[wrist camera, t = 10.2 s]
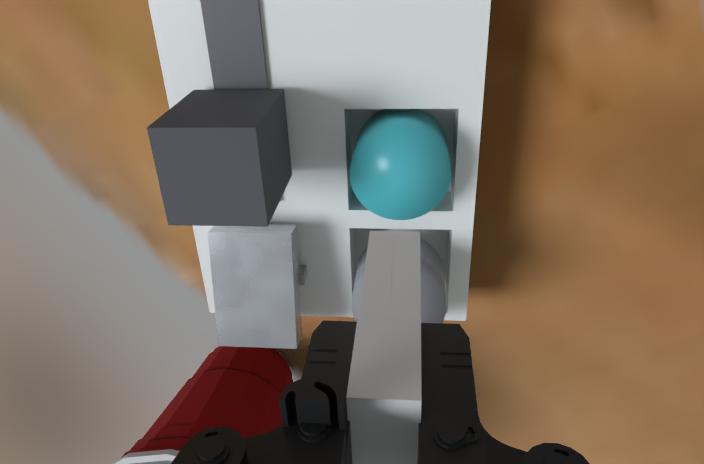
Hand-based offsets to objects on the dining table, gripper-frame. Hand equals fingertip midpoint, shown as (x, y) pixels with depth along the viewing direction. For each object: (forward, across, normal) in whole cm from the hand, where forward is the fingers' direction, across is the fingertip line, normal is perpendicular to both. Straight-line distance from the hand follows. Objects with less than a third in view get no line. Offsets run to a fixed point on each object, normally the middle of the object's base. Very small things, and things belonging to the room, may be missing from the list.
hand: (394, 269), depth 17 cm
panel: (+13, -4, +1) cm, 13 cm away
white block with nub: (+8, -7, -7) cm, 13 cm away
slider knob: (+9, -7, +1) cm, 12 cm away
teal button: (+11, 0, -1) cm, 11 cm away
